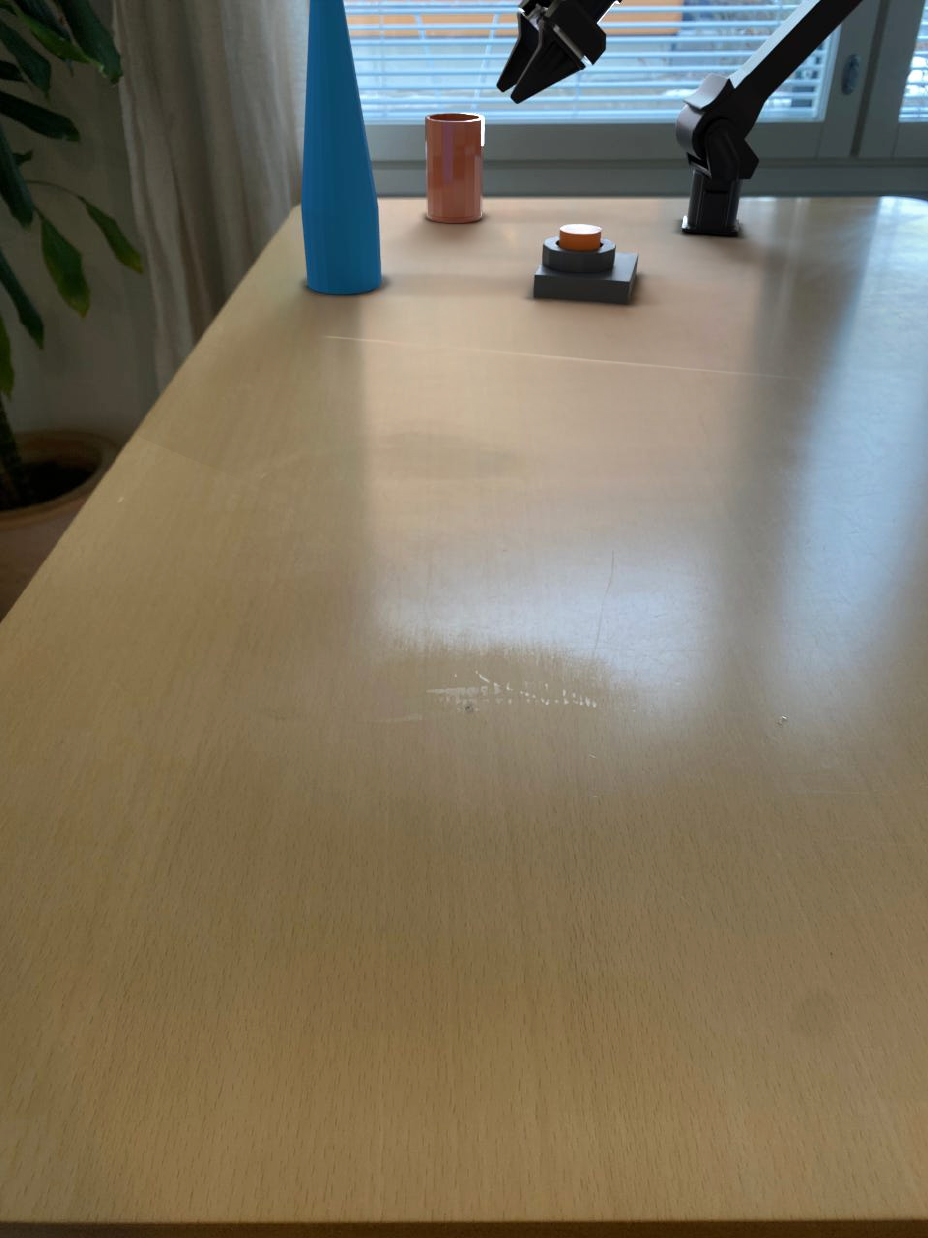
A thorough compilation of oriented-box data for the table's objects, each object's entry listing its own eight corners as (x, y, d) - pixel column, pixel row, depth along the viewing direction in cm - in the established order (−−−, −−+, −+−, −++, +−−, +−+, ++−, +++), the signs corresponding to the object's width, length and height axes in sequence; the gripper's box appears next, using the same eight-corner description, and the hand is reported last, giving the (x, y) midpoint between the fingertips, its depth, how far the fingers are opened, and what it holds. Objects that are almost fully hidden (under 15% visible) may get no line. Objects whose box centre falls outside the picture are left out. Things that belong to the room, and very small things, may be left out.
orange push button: (561, 241, 94) (563, 222, 92) (602, 244, 93) (603, 225, 92) (555, 251, 90) (556, 232, 89) (597, 254, 90) (599, 235, 89)
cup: (434, 208, 120) (433, 111, 114) (486, 211, 119) (488, 113, 112) (420, 221, 115) (418, 119, 108) (475, 224, 113) (476, 122, 107)
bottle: (370, 296, 90) (352, -104, 73) (297, 291, 91) (262, -105, 74) (389, 275, 96) (376, -100, 79) (320, 271, 97) (292, -100, 80)
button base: (549, 269, 98) (551, 228, 96) (636, 275, 97) (640, 234, 94) (533, 297, 90) (535, 254, 88) (627, 305, 89) (632, 261, 86)
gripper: (535, -101, 100) (440, 30, 105) (575, -108, 85) (461, 45, 90) (606, -17, 105) (511, 103, 111) (655, -10, 90) (542, 129, 96)
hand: (505, 94), depth 102 cm, fingers open, 9 cm apart
